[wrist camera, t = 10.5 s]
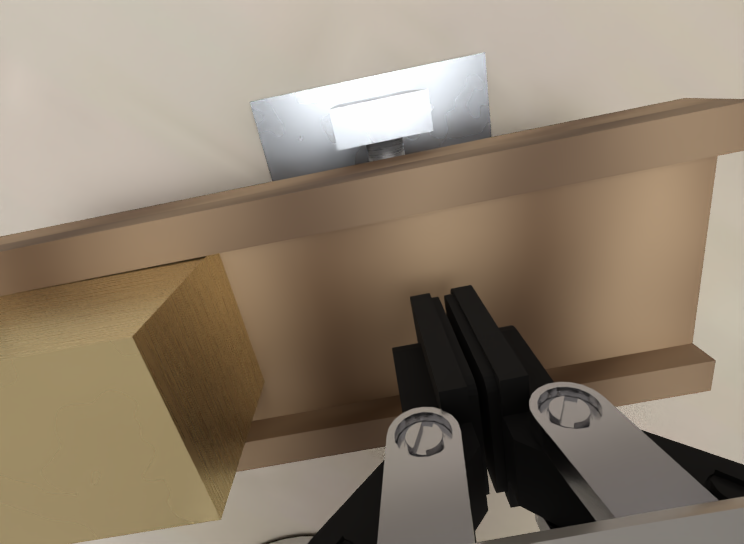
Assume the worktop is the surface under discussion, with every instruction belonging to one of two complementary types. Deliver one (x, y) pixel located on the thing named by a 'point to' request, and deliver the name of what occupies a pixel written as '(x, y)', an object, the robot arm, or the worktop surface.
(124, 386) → the block
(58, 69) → the worktop surface
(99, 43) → the worktop surface
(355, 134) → the pivot stand
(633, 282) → the board
